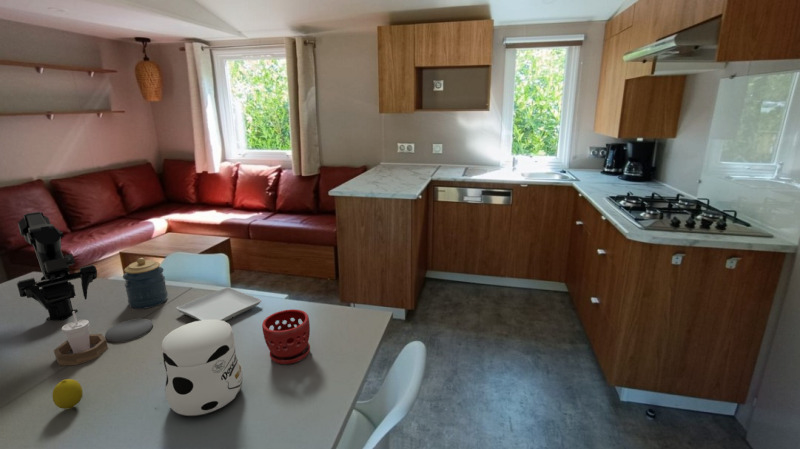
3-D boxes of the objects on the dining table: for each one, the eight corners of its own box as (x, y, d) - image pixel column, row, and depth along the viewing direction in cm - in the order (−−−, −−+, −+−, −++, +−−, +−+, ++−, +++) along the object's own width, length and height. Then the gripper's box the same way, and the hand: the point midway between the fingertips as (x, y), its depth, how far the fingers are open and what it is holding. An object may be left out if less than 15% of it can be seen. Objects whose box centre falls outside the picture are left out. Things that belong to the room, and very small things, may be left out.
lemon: (67, 400, 100) (60, 373, 98) (90, 399, 101) (83, 372, 99) (50, 417, 95) (42, 388, 93) (75, 415, 96) (67, 387, 93)
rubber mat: (120, 322, 138) (120, 319, 138) (160, 320, 139) (159, 317, 138) (96, 343, 125) (95, 340, 125) (139, 341, 126) (139, 338, 126)
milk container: (256, 397, 101) (248, 334, 96) (183, 435, 89) (169, 366, 85) (227, 367, 113) (219, 310, 108) (159, 398, 101) (146, 335, 96)
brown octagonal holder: (75, 343, 125) (73, 335, 124) (114, 341, 126) (112, 333, 125) (47, 366, 114) (44, 357, 113) (90, 364, 115) (87, 355, 114)
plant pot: (296, 338, 128) (294, 304, 124) (320, 355, 119) (317, 319, 115) (258, 355, 119) (253, 318, 116) (279, 375, 110) (276, 336, 107)
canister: (155, 309, 146) (147, 264, 142) (120, 309, 147) (110, 264, 142) (175, 293, 159) (168, 252, 154) (143, 293, 159) (134, 252, 154)
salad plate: (264, 307, 149) (263, 298, 148) (211, 333, 131) (210, 323, 130) (228, 294, 160) (227, 286, 159) (175, 316, 142) (174, 307, 141)
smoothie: (81, 361, 116) (70, 317, 113) (63, 358, 118) (51, 315, 114) (101, 348, 122) (91, 307, 119) (83, 346, 124) (73, 305, 120)
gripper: (8, 255, 114) (23, 303, 110) (89, 240, 127) (104, 282, 123) (13, 274, 121) (27, 319, 117) (89, 258, 134) (103, 298, 130)
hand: (67, 303), depth 122 cm, fingers open, 9 cm apart
